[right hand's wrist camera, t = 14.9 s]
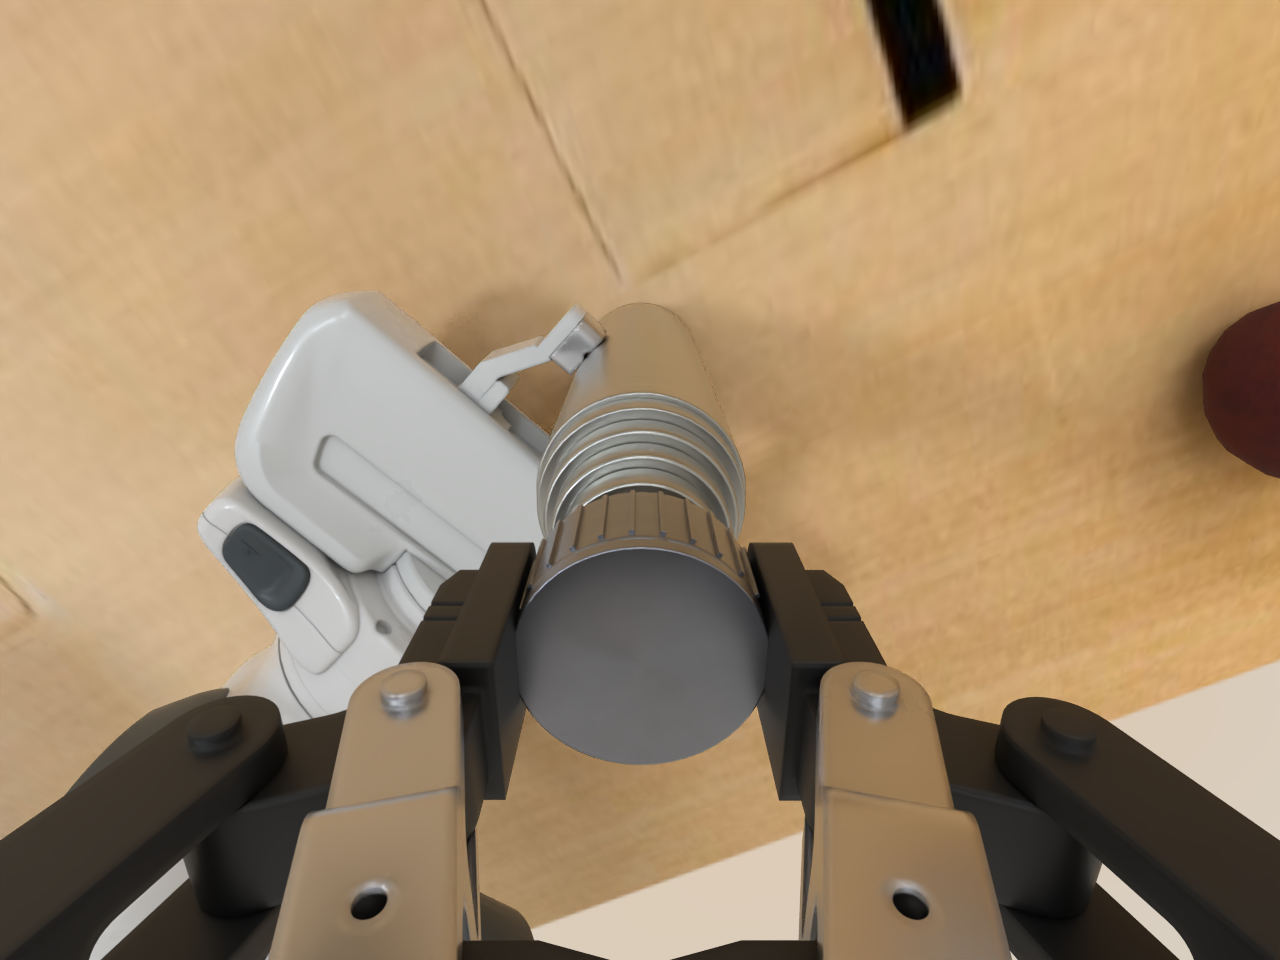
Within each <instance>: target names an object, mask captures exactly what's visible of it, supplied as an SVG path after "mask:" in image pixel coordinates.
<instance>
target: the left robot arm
mask: <svg viewBox="0 0 1280 960" xmlns="http://www.w3.org/2000/svg"><path fill="white" fill-rule="evenodd" d="M606 332H607V330H606V329H605V328H604V327H603V326H602V325H601V324H599V323H598V322H597V321H596V320H595V319H594V318H593V317H592V316H591V315H590V314H589V313H588V312H587V311H586V310H585V309H584V308H583V307H582V306H580V305H579V304H578V303H577V302H576V303H575V304H574V305H573V306H572V307H571V308H570V309H569V310H568V312H567V313H566V314H565V315H564V316H563V317H562V319H561V320H560V321H559V322H558V323H557V324H556V325H555V327H554V328H553V329H552V330H551V331H550V332H549V333H548V335H547V336H546V337H545V338H544V337H543V336H539V337H535V338H532V339H529V340H526V341H522V342H519V343H516V344H513V345H510V346H506V347H503V348H500V349H497V350H493V351H492V352H491V353H490V354H489V355H487V356H486V357H485V358H484V359H483V360H482V361H481V362H480V363H479V364H478V366H477V367H476V368H475V369H474V370H473V369H471V368H470V367H469V366H468V365H467V364H466V363H464V362H463V361H462V360H461V359H460V358H459V357H457V356H456V355H455V354H454V353H453V352H452V351H450V350H449V349H448V348H447V347H446V346H444V345H443V344H442V343H441V342H440V341H439V340H437V339H436V338H435V337H434V336H433V335H432V334H430V333H429V332H428V331H427V330H426V329H424V328H423V327H422V326H421V325H420V324H419V323H417V322H416V321H415V320H414V319H413V318H412V317H410V316H409V315H408V314H407V313H406V312H405V311H403V310H402V309H401V308H400V307H399V306H398V305H396V304H395V303H394V302H393V301H392V300H391V299H389V298H388V297H387V296H386V295H384V294H383V293H381V292H379V291H376V290H362V291H350V292H345V293H340V294H335V295H332V296H329V297H327V298H324V299H322V300H320V301H318V302H317V303H315V304H314V305H313V306H311V307H310V308H309V309H308V310H307V311H306V312H305V313H304V314H303V315H302V317H301V318H300V319H299V321H298V322H297V323H296V325H295V326H294V327H293V329H292V330H291V332H290V333H289V335H288V336H287V338H286V339H285V341H284V342H283V344H282V345H281V347H280V349H279V350H278V352H277V353H276V355H275V356H274V358H273V360H272V362H271V363H270V365H269V367H268V368H267V370H266V372H265V374H264V376H263V377H262V379H261V381H260V383H259V385H258V387H257V388H256V390H255V392H254V394H253V396H252V398H251V400H250V403H249V405H248V407H247V409H246V411H245V413H244V415H243V417H242V420H241V422H240V425H239V428H238V431H237V435H236V441H235V461H236V466H237V469H238V472H239V475H240V476H238V477H237V478H236V479H235V480H234V481H233V482H232V483H230V484H229V485H228V486H227V487H226V488H225V489H224V490H223V491H222V492H221V493H220V494H219V495H218V496H217V497H216V498H215V499H214V500H213V501H212V502H211V503H210V504H209V505H208V506H207V508H206V509H205V510H204V512H203V513H202V514H201V516H200V518H199V521H198V525H197V528H198V533H199V535H200V537H201V539H202V541H203V543H204V544H205V545H206V547H207V548H208V549H209V550H210V552H211V553H212V554H213V555H214V556H215V557H216V559H217V560H218V561H219V562H220V563H221V564H222V565H223V566H224V568H225V569H226V570H227V571H228V572H229V573H230V574H231V576H232V577H233V578H234V579H235V580H236V581H237V583H238V584H239V585H240V586H241V587H242V589H243V590H244V591H245V592H246V593H247V595H248V596H249V597H250V598H251V600H252V601H253V602H254V603H255V605H256V606H257V607H258V609H259V610H260V611H261V612H262V614H263V615H264V617H265V618H266V619H267V621H268V622H269V624H270V625H271V626H272V628H273V629H274V631H275V632H276V635H275V638H274V641H273V643H272V644H271V646H269V647H267V648H265V649H263V650H262V651H260V652H258V653H256V654H255V655H254V656H252V657H251V658H250V659H248V660H247V661H246V662H245V663H243V664H242V665H241V666H240V667H239V668H238V669H237V670H236V671H235V672H234V673H233V675H232V676H231V677H230V678H229V679H228V680H227V682H226V683H225V684H224V685H223V686H222V688H221V689H215V690H210V691H206V692H202V693H199V694H196V695H193V696H190V697H187V698H185V699H182V700H179V701H176V702H173V703H171V704H168V705H165V706H163V707H160V708H157V709H154V710H152V711H151V712H149V713H148V714H146V715H145V716H144V717H142V718H141V719H140V720H138V721H137V722H136V723H135V724H133V725H132V726H131V727H130V728H129V729H127V730H126V731H125V732H124V733H123V734H122V735H121V736H119V737H118V738H117V739H116V740H115V741H114V742H113V743H112V744H111V745H110V746H109V747H108V748H107V749H106V750H105V751H104V752H103V753H102V754H101V755H100V756H99V757H98V758H97V759H96V760H95V761H94V762H93V763H92V764H91V766H90V767H89V768H88V769H87V770H86V771H85V772H84V773H83V774H82V775H81V777H80V778H79V779H78V780H77V781H76V783H75V784H74V785H73V786H72V787H71V788H70V790H69V791H68V792H67V793H66V795H67V794H68V793H69V792H71V791H72V790H74V789H75V788H77V787H78V786H80V785H81V784H82V783H84V782H85V781H87V780H88V779H90V778H91V777H92V776H94V775H95V774H97V773H98V772H100V771H101V770H103V769H104V768H105V767H107V766H108V765H110V764H111V763H113V762H114V761H115V760H117V759H118V758H120V757H121V756H123V755H124V754H126V753H127V752H128V751H130V750H131V749H133V748H134V747H136V746H137V745H139V744H140V743H141V742H143V741H144V740H146V739H147V738H149V737H150V736H151V735H153V734H154V733H156V732H157V731H159V730H160V729H162V728H163V727H164V726H166V725H167V724H169V723H170V722H172V721H173V720H175V719H176V718H178V717H179V716H181V715H182V714H184V713H186V712H188V711H190V710H192V709H194V708H196V707H198V706H201V705H203V704H205V703H208V702H211V701H214V700H218V699H222V698H226V697H232V696H242V695H252V696H260V697H264V698H266V699H269V700H271V701H272V702H274V703H275V704H276V705H277V707H278V708H279V711H280V714H281V719H282V723H283V725H284V724H289V723H294V722H298V721H303V720H308V719H312V718H317V717H322V716H326V715H330V714H334V713H338V712H341V711H344V710H346V709H347V707H348V703H349V700H350V697H351V695H352V694H353V692H354V690H355V689H356V688H357V687H358V686H359V685H360V684H361V683H362V682H363V681H365V680H366V679H367V678H369V677H370V676H372V675H373V674H375V673H377V672H379V671H381V670H384V669H386V668H389V667H392V666H395V665H398V664H399V662H400V660H401V658H402V656H403V654H404V652H405V650H406V649H407V647H408V645H409V643H410V641H411V639H412V637H413V635H414V633H415V632H416V630H417V628H418V626H419V624H420V622H421V621H423V617H424V615H425V613H426V611H427V609H428V607H429V606H431V601H432V600H433V598H434V596H435V594H436V592H437V590H438V588H439V586H440V585H441V584H442V583H443V582H445V581H446V580H447V579H449V578H450V577H451V576H453V575H454V574H455V573H457V572H458V571H459V570H479V568H480V566H481V564H482V561H483V559H484V557H485V555H486V552H487V550H488V548H489V546H490V544H491V543H492V542H533V543H534V545H535V549H536V555H537V552H538V548H539V545H540V542H541V540H542V539H543V538H544V537H543V534H542V531H541V528H540V525H539V520H538V515H537V495H536V482H537V473H538V469H539V465H540V461H541V458H542V456H543V453H544V451H545V448H546V446H547V443H548V441H549V438H550V435H549V434H548V433H547V432H545V431H544V430H543V429H542V428H541V427H540V426H538V425H537V424H536V423H535V422H534V421H533V420H531V419H530V418H529V417H528V416H527V415H525V414H524V413H523V412H522V411H521V410H520V409H518V408H517V407H516V406H515V405H514V404H513V403H511V402H510V401H509V400H508V399H507V398H506V396H507V394H508V393H509V392H510V391H511V389H512V388H513V387H514V385H515V384H516V382H517V381H518V380H519V374H518V373H517V372H518V371H521V370H524V369H528V368H531V367H534V366H537V365H540V364H543V363H546V362H549V361H552V360H553V361H554V362H555V363H557V364H558V365H559V366H560V367H561V368H562V369H564V370H565V371H566V372H567V373H568V374H569V375H571V374H572V373H573V372H574V371H575V370H576V369H577V368H578V367H579V366H580V364H581V363H582V362H583V360H584V358H585V355H586V353H589V352H592V351H593V350H594V349H595V348H596V347H597V346H598V345H599V343H600V342H601V341H602V340H603V338H604V337H605V335H606ZM188 878H189V876H188V873H187V870H186V867H185V864H184V860H183V859H181V860H180V861H179V862H178V863H177V864H176V865H175V866H174V867H173V868H171V869H170V870H169V871H168V872H167V873H166V874H165V875H164V876H162V877H161V878H160V879H159V880H158V881H157V882H156V883H155V884H154V885H152V886H151V887H150V888H149V889H148V890H147V891H146V892H145V893H143V894H142V895H141V896H140V897H139V898H138V899H137V900H136V901H134V902H133V903H132V904H131V905H130V906H129V907H128V908H127V909H126V910H124V911H123V912H122V913H121V914H120V915H119V916H118V917H117V918H116V919H115V920H114V921H113V922H112V923H111V924H110V925H109V926H108V927H107V928H106V929H105V931H104V932H103V933H102V935H101V936H100V938H99V939H98V941H97V943H96V944H95V946H94V948H93V951H92V953H91V955H90V959H89V960H101V959H102V958H103V957H104V956H105V955H106V954H107V953H108V952H109V951H110V950H112V949H113V948H114V947H115V946H116V945H117V944H118V943H119V942H120V941H121V940H122V939H123V938H124V937H126V936H127V935H128V934H129V933H130V932H131V931H132V930H133V929H134V928H135V927H136V926H137V925H138V924H140V923H141V922H142V921H143V920H144V919H145V918H146V917H147V916H148V915H149V914H150V913H151V912H152V911H154V910H155V909H156V908H157V907H158V906H159V905H160V904H161V903H162V902H163V901H164V900H165V899H167V898H168V897H169V896H170V895H171V894H172V893H173V892H174V891H175V890H176V889H177V888H178V887H179V886H181V885H182V884H183V883H184V882H185V881H186V880H187V879H188ZM480 919H481V940H534V939H533V935H532V932H531V930H530V927H529V925H528V923H527V921H526V920H525V918H524V917H523V916H522V915H521V914H520V913H519V912H518V911H516V910H515V909H513V908H511V907H509V906H507V905H505V904H503V903H501V902H499V901H497V900H495V899H493V898H491V897H489V896H486V895H484V894H482V893H480ZM269 953H270V951H269V952H268V954H267V955H266V956H265V957H264V958H263V959H262V960H268V957H269Z"/></svg>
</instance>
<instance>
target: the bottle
mask: <svg viewBox="0 0 1280 960" xmlns="http://www.w3.org/2000/svg"><path fill="white" fill-rule="evenodd" d="M599 324H601V325H602V326H603V327H604V328H605V329H606V330H607V332H606V335H605V337H604V338H603V340H602V341H601V342H600V343H599V345H598V346H597V347H596V348H595V349H594V350H593V351H592V352H589V353H586V355H585V358H584V360H583V362H582V363H581V364H580V366H579V367H578V368H577V371H576V373H575V376H574V378H573V381H572V383H571V386H570V388H569V391H568V393H567V396H566V398H565V401H564V403H563V406H562V408H561V411H560V413H559V416H558V418H557V421H556V423H555V426H554V428H553V431H552V433H551V436H550V438H549V441H548V443H547V446H546V448H545V451H544V453H543V456H542V458H541V461H540V465H539V469H538V473H537V482H536V495H537V515H538V520H539V525H540V528H541V531H542V534H543V537H544V539H545V540H546V539H547V537H548V536H549V534H550V533H551V532H552V531H553V530H554V529H555V526H556V523H557V521H558V520H559V519H560V520H561V521H563V520H564V519H565V518H566V517H568V516H569V515H570V514H571V513H573V512H575V511H576V510H577V508H578V506H579V505H581V504H582V505H583V506H585V505H587V504H589V503H591V502H594V501H596V500H599V499H602V498H603V495H606V494H607V495H608V496H612V495H617V494H623V493H630V490H635V492H648V493H658V491H661V492H663V494H664V495H670V496H674V497H677V498H680V499H683V500H685V498H687V499H690V503H693V504H695V505H697V506H699V507H701V508H702V509H704V510H706V511H707V512H708V511H709V510H711V511H712V512H713V513H714V517H715V518H717V519H718V520H719V521H720V522H721V523H723V524H724V526H725V527H726V528H729V527H731V529H732V530H733V533H734V537H735V539H736V540H737V539H738V536H739V534H740V531H741V529H742V524H743V520H744V515H745V494H746V484H745V474H744V469H743V464H742V461H741V459H740V456H739V453H738V450H737V448H736V445H735V443H734V440H733V438H732V435H731V433H730V430H729V428H728V425H727V423H726V420H725V418H724V415H723V413H722V410H721V408H720V405H719V403H718V400H717V398H716V395H715V393H714V390H713V388H712V385H711V383H710V380H709V378H708V375H707V373H706V370H705V368H704V365H703V363H702V360H701V357H700V355H699V352H698V350H697V347H696V345H695V342H694V340H693V337H692V335H691V333H690V331H689V330H688V328H687V327H686V325H685V324H684V323H683V322H682V321H681V319H680V318H678V317H677V316H676V315H675V314H674V313H672V312H670V311H669V310H667V309H665V308H663V307H660V306H657V305H654V304H648V303H635V304H629V305H625V306H622V307H620V308H617V309H615V310H614V311H612V312H610V313H609V314H608V315H606V316H605V317H604V318H603V319H602V320H601V321H600V322H599Z"/></svg>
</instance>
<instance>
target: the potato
mask: <svg viewBox="0 0 1280 960" xmlns="http://www.w3.org/2000/svg"><path fill="white" fill-rule="evenodd" d="M1203 402H1204V410H1205V415H1206V417H1207V419H1208V421H1209V423H1210V425H1211V427H1212V429H1213V431H1214V433H1215V435H1216V437H1217V439H1218V440H1219V441H1220V443H1221V444H1222V445H1223V446H1224V447H1225V449H1226V450H1227V451H1229V452H1230V453H1232V454H1233V455H1235V456H1236V457H1238V458H1240V459H1241V460H1243V461H1244V462H1246V463H1247V464H1249V465H1251V466H1252V467H1254V468H1256V469H1258V470H1259V471H1261V472H1263V473H1264V474H1266V475H1270V476H1273V477H1277V478H1280V302H1277V303H1274V304H1272V305H1269V306H1266V307H1263V308H1261V309H1258V310H1256V311H1253V312H1251V313H1248V314H1247V315H1245V316H1244V317H1243V318H1241V319H1240V320H1239V321H1237V322H1236V323H1235V324H1233V325H1232V326H1231V327H1229V328H1228V329H1227V330H1226V331H1225V332H1224V333H1223V334H1222V336H1221V337H1220V339H1219V340H1218V341H1217V343H1216V344H1215V346H1214V347H1213V348H1212V350H1211V351H1210V353H1209V357H1208V360H1207V363H1206V366H1205V369H1204V372H1203Z"/></svg>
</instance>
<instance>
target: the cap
mask: <svg viewBox="0 0 1280 960" xmlns="http://www.w3.org/2000/svg"><path fill="white" fill-rule="evenodd" d="M758 598H760V593H759V590H758V587H757V584H756V580H755V577H754V574H753V571H752V567H751V564H750V561H749V558H748V554H747V551H746V549H745V547H743V548H741V547H740V545H739V543H738V542H737V540H736V539H735V537H734V533H733V530H732V529H731V527H729V528H726V527H725V526H724V524H723V523H721V522H720V521H719V520H718V519H717V518H715V517H714V513H713V512H712V511H711V510H709V511H708V512H707V511H706V510H704V509H702V508H701V507H699V506H697V505H695V504H693V503H690V499H687V498H685V500H683V499H680V498H677V497H674V496H670V495H664V494H663V492H661V491H658V493H648V492H635V490H630V493H623V494H617V495H612V496H608V495H607V494H606V495H603V498H602V499H599V500H596V501H594V502H591V503H589V504H587V505H585V506H583V505H582V504H581V505H579V506H578V508H577V510H576V511H575V512H573V513H571V514H570V515H569V516H568V517H566V518H565V519H564V520H563V521H561V520H560V519H559V520H558V521H557V523H556V526H555V529H554V530H553V531H552V532H551V533H550V534H549V536H548V537H547V539H546V540H545V539H544V538H543V539H542V540H541V542H540V545H539V548H538V552H537V555H536V558H535V561H533V564H532V568H531V571H530V574H529V578H528V581H527V585H526V588H525V591H524V595H523V598H522V601H521V605H520V613H519V616H518V619H517V623H516V626H515V635H516V648H517V661H518V674H519V687H520V696H521V698H522V700H523V702H524V704H525V706H526V707H527V709H528V710H529V712H530V713H531V715H532V716H533V717H534V718H535V719H536V720H537V722H538V723H539V724H540V725H541V726H542V727H543V728H544V729H545V730H547V731H548V732H549V733H550V734H551V735H552V736H554V737H555V738H556V739H558V740H559V741H561V742H562V743H564V744H565V745H567V746H569V747H571V748H573V749H575V750H577V751H579V752H581V753H584V754H586V755H589V756H591V757H594V758H598V759H601V760H605V761H609V762H615V763H621V764H634V765H648V764H660V763H667V762H673V761H677V760H681V759H684V758H688V757H690V756H693V755H696V754H698V753H701V752H703V751H705V750H707V749H709V748H711V747H713V746H715V745H717V744H718V743H720V742H721V741H723V740H724V739H726V738H727V737H728V736H730V735H731V734H732V733H733V732H734V731H735V730H737V729H738V728H739V727H740V726H741V725H742V724H743V723H744V721H745V720H746V719H747V718H748V717H749V716H750V714H751V713H752V711H753V710H754V709H755V707H756V706H757V704H758V702H759V700H760V698H761V696H762V694H763V692H764V686H765V674H766V661H767V649H768V630H767V627H766V623H765V620H764V617H763V613H762V610H761V607H760V603H759V600H758Z"/></svg>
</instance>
